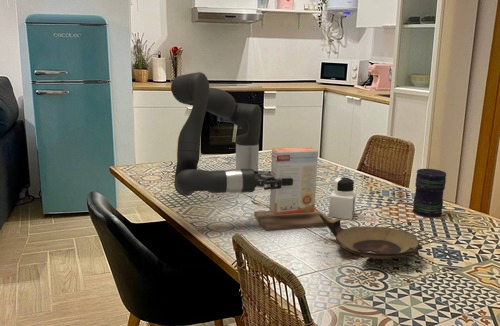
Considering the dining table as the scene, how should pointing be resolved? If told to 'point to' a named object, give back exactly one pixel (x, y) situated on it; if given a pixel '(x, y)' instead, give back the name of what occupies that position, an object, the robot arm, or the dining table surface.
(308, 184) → the cracker box
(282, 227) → the walnut board
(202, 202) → the dining table surface
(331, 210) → the container
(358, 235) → the oil lamp
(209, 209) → the dining table surface
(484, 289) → the dining table surface
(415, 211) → the storage jar
